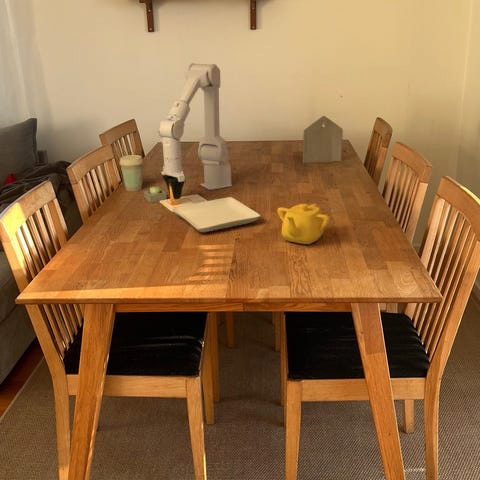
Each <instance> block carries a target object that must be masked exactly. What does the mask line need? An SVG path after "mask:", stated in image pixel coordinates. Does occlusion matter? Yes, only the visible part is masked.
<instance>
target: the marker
mask: <svg viewBox="0 0 480 480" xmlns="http://www.w3.org/2000/svg"><path fill="white" fill-rule="evenodd" d="M169 186H170V183H169ZM169 196H170V197H169V199H171V204H173V205H176V204H179V203H180V199H174V198H173V193H172V189H171V186H170V194H169Z"/></svg>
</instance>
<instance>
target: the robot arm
mask: <svg viewBox="0 0 480 480" xmlns="http://www.w3.org/2000/svg"><path fill="white" fill-rule="evenodd" d="M185 76H186V77H185V78H186V81H185V84H184V86H183V88H182V91H181V94H180V96H179V99H178V100H175V101H174V102H173V104H172V105H171V107H170V110H169V111H168V113H167V115H166V117H165V119H163V120H162V121H160V123H159V125H158V127H157V134H158V136H159V138H160V142H161V144H162V151H163V166H162V171H160V173H161V175H162V180H164V182H165V185H166V187H167V191H168V194H169V195H170V186H171V189H172V193H173V198H174V199H180V198H181V197H182V192H183V187H184V185H185V183H186V181H187V179H186V177H185V175H184V170H183V164H182V163H183V162H182V147H181V138H182V136H183V135H184V128H185V122H186V119H187V117H188V115H189V113H190V111H191V108H190V103H191V102H192V100H193V98H194V97H195V95H196V94H197V92H198V91H199V89H201V90H202V91H203V106H204V107H203V110H204V111H203V114H204V118H203V119H204V136H203V137H202V138H201V139H200V140H199V145H198V150H197V155H198V158H199V160H200V161H201V163H202V164H203V175H204V177H203V179H204V182H203V183H200V185H201V186H202V187H204V188H205V189H206V190H209V191H211V190H216V189H217V190H218V189H225V188H229V187H233V184H232V171H231V170H232V168H231V165H230V163H229V162H228V161H227V160H228V157H229V150H228V146H227V141H226V140H225V139H224V138H223V137H222V136H221V135H220V88H221V69H220V68H219V67H218V65H217V64H214V63H212V64H210V63H209V64H208V63H205V64H204V63H193V62H192V63H190V64H189V65H188V67H187V68H186V71H185ZM169 183H170V186H169Z"/></svg>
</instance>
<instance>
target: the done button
mask: <svg viewBox="0 0 480 480" xmlns="http://www.w3.org/2000/svg"><path fill="white" fill-rule="evenodd" d="M160 189H161V188H160V186H151V187H149V190H150V194H151V195H153V194H159V193H160Z"/></svg>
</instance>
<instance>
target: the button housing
mask: <svg viewBox="0 0 480 480" xmlns="http://www.w3.org/2000/svg"><path fill="white" fill-rule="evenodd" d="M143 195H144V199H145V200H147V202H148V203H156V202H160V201H161V200H167V198H168V196H167V192H165V191H164V190H163V189H161V188H160V193H159V194H153V195H151V194H150V189H149V190H143Z"/></svg>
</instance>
